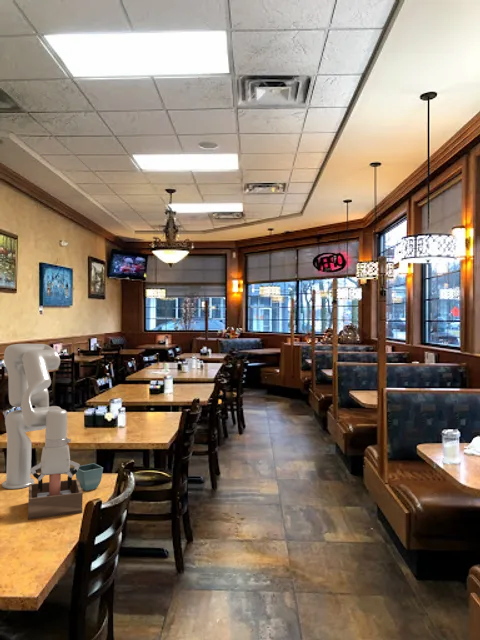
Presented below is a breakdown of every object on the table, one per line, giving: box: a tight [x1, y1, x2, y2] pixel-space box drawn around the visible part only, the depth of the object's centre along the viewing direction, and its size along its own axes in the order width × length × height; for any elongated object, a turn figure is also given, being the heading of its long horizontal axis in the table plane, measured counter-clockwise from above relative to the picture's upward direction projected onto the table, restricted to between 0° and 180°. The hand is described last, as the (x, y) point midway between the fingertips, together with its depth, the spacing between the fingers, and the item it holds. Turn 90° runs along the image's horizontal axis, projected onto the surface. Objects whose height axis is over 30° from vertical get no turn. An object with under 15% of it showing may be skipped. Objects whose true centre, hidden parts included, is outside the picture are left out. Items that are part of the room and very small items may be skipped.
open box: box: [27, 478, 84, 520], centre depth 182 cm, size 18×18×7 cm
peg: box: [48, 474, 62, 496], centre depth 182 cm, size 4×4×12 cm
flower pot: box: [75, 463, 104, 492], centre depth 204 cm, size 9×9×9 cm
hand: (55, 489), depth 182 cm, fingers open, 9 cm apart
